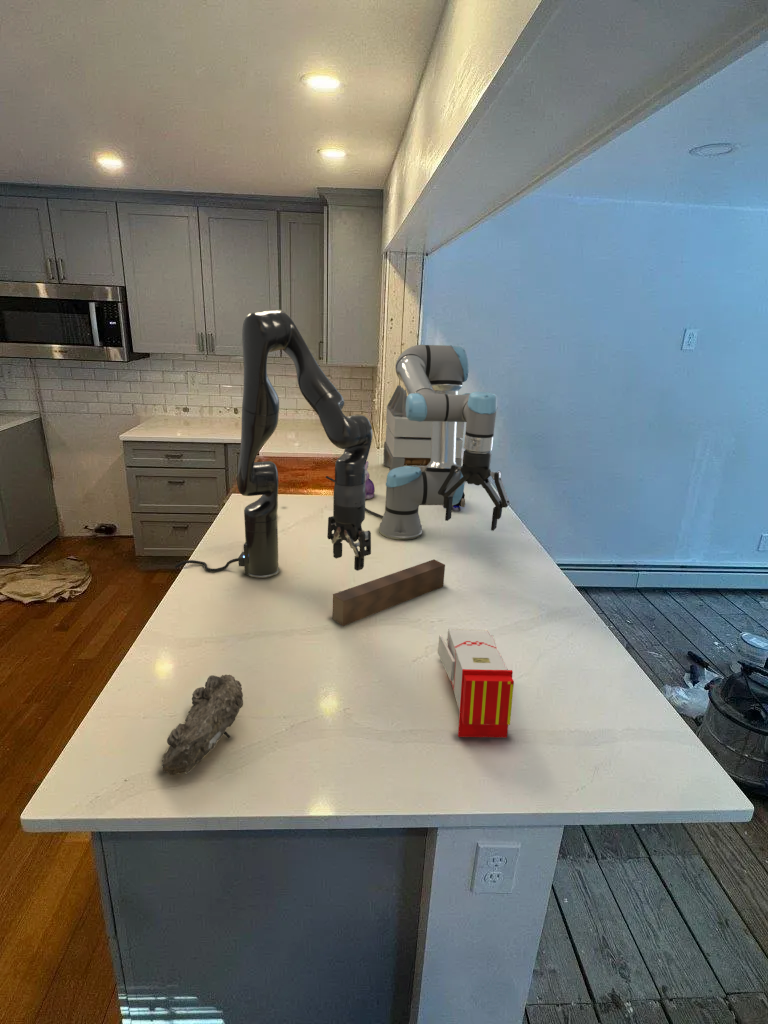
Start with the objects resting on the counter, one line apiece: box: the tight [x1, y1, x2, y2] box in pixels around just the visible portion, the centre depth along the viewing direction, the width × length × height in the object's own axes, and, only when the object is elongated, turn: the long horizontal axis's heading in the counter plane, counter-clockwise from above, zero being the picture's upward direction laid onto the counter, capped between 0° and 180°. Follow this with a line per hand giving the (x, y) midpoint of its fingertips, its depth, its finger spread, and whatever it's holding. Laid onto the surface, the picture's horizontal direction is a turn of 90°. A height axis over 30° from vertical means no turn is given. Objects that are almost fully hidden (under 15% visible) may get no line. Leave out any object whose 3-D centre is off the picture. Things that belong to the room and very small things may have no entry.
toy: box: [437, 628, 515, 738], centre depth 117 cm, size 12×13×30 cm
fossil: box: [161, 674, 244, 776], centre depth 102 cm, size 22×10×15 cm
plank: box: [331, 559, 446, 627], centre depth 152 cm, size 36×4×7 cm, turn 131°
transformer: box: [383, 384, 465, 472], centre depth 268 cm, size 34×33×41 cm
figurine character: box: [452, 490, 466, 511], centre depth 229 cm, size 7×8×15 cm
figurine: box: [365, 460, 376, 500], centre depth 234 cm, size 9×10×15 cm
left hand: (348, 563), depth 139 cm, fingers open, 8 cm apart
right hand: (470, 524), depth 160 cm, fingers open, 13 cm apart
